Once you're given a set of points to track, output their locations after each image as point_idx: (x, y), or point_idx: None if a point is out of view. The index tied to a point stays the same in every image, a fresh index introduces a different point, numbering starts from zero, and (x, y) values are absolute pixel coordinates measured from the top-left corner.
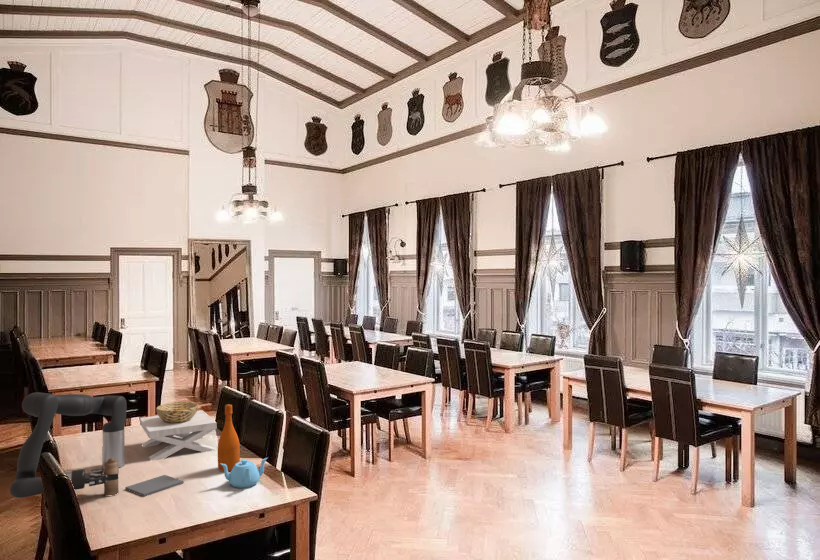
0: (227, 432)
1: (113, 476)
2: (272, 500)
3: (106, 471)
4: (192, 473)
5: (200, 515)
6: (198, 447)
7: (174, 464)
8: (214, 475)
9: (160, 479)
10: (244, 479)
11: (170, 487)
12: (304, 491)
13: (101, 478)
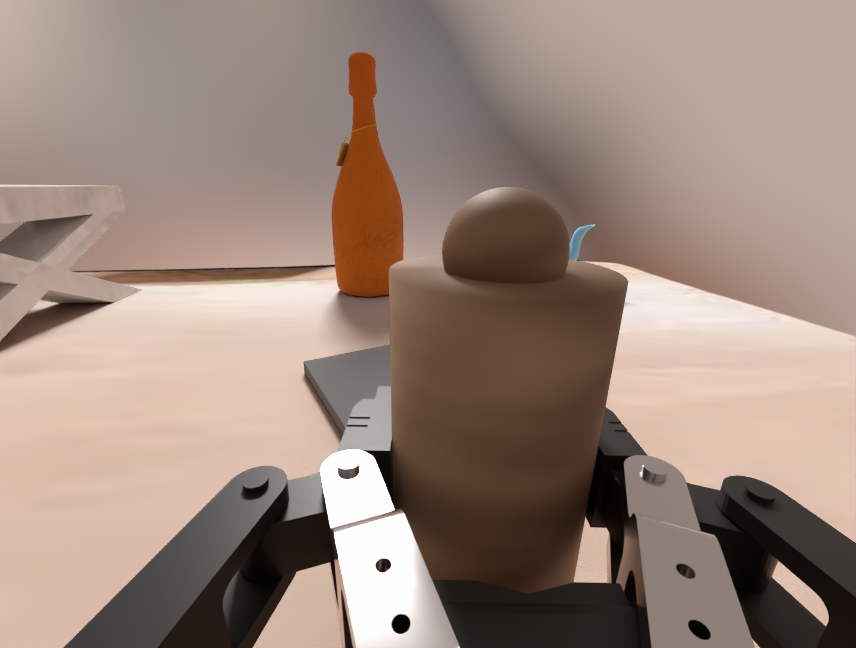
0: (385, 160)
1: (620, 427)
2: (650, 279)
3: (598, 422)
4: (341, 326)
5: (807, 337)
6: (96, 285)
7: (148, 346)
8: None
9: (369, 373)
10: (576, 260)
11: None
12: (596, 263)
13: (838, 538)
